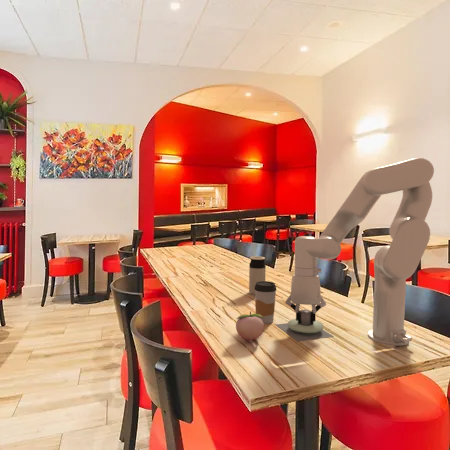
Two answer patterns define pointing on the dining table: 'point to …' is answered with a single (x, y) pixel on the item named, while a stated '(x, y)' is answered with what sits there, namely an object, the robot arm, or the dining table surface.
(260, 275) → the travel mug
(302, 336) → the mat
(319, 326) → the lid
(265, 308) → the coffee cup
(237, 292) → the dining table surface
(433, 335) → the dining table surface
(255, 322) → the decorative fruit
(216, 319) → the dining table surface
